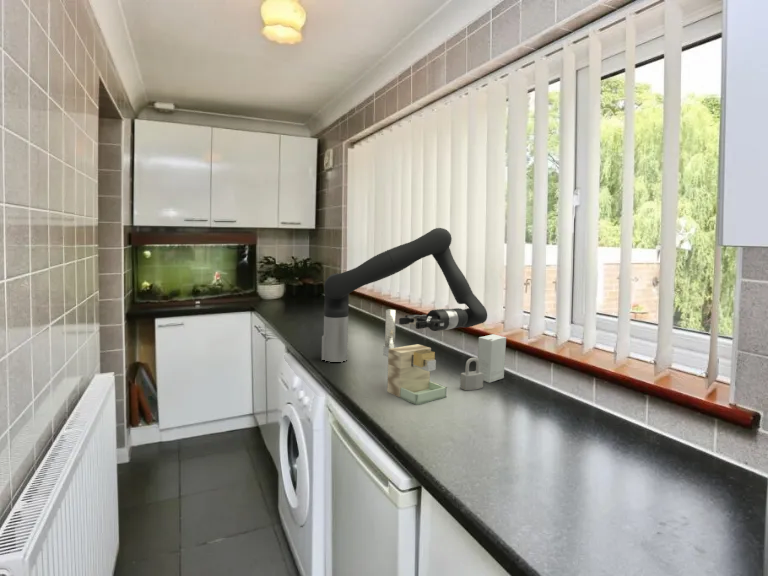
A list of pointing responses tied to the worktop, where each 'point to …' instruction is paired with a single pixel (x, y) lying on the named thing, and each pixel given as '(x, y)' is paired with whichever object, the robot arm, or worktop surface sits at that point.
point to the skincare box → (492, 357)
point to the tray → (424, 394)
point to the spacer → (422, 357)
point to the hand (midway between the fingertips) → (407, 323)
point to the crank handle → (390, 341)
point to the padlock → (471, 377)
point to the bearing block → (406, 370)
